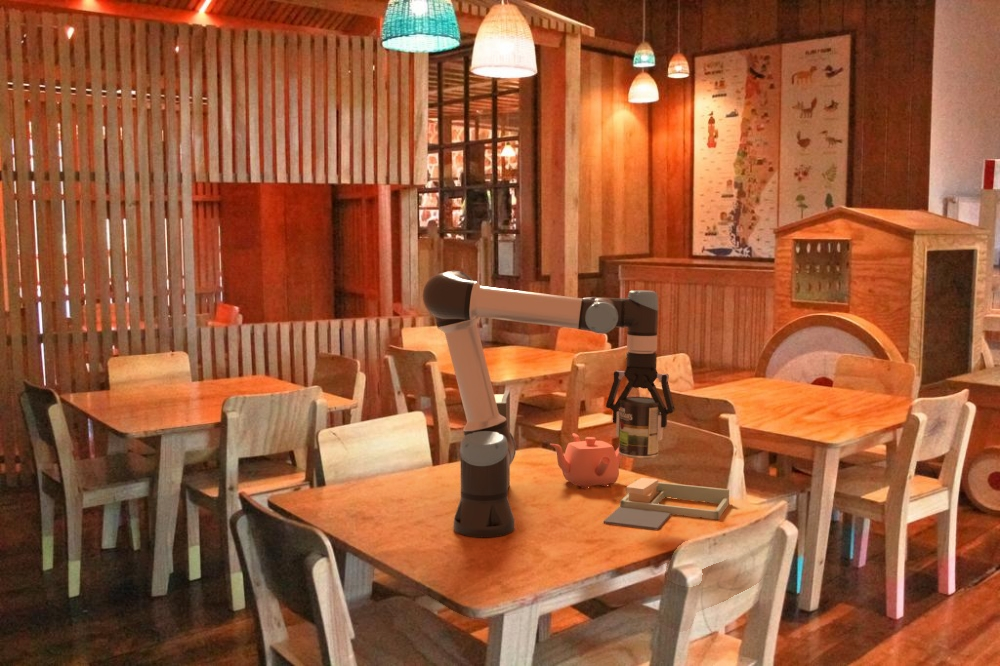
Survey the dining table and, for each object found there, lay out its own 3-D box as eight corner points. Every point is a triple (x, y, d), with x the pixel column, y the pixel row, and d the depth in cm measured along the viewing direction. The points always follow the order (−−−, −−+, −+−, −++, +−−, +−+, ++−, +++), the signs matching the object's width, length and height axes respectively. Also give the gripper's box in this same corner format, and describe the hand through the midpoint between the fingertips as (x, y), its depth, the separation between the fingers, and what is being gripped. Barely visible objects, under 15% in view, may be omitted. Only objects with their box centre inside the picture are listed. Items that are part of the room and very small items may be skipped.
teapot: (548, 487, 277) (549, 440, 275) (572, 473, 293) (572, 429, 292) (608, 495, 269) (608, 446, 267) (629, 480, 285) (629, 434, 284)
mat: (657, 530, 236) (657, 527, 236) (603, 523, 242) (603, 521, 242) (670, 515, 249) (670, 512, 249) (619, 509, 255) (619, 506, 255)
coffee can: (629, 459, 238) (630, 404, 236) (611, 450, 248) (613, 397, 246) (666, 457, 241) (668, 402, 240) (647, 448, 251) (649, 395, 249)
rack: (717, 519, 245) (718, 499, 245) (620, 508, 256) (620, 489, 255) (729, 503, 260) (729, 485, 259) (636, 493, 270) (636, 475, 270)
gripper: (689, 352, 241) (686, 439, 243) (603, 347, 249) (600, 431, 252) (682, 355, 234) (679, 445, 236) (594, 350, 243) (592, 436, 245)
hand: (639, 437), depth 244 cm, fingers closed on coffee can, 10 cm apart
